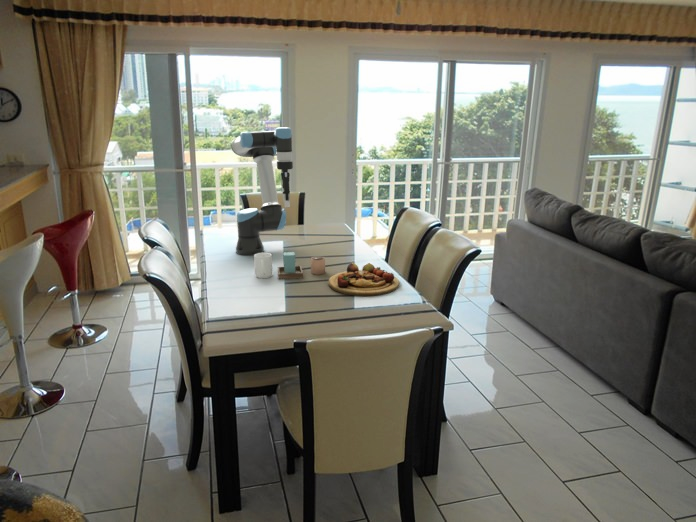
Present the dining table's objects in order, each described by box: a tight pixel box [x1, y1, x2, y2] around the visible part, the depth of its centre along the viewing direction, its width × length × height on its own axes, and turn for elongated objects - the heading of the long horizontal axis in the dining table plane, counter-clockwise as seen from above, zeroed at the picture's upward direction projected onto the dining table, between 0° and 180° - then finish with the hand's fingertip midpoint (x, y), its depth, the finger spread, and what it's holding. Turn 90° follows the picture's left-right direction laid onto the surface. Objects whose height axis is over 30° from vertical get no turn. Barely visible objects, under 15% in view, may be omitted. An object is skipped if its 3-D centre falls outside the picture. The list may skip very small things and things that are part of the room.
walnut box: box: [277, 265, 304, 280], centre depth 251 cm, size 11×11×2 cm
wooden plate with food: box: [327, 262, 400, 297], centre depth 237 cm, size 32×32×8 cm
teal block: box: [283, 251, 296, 274], centre depth 250 cm, size 5×5×10 cm
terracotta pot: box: [310, 255, 326, 275], centre depth 254 cm, size 7×7×7 cm
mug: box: [253, 252, 273, 279], centre depth 248 cm, size 12×8×10 cm
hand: (286, 204), depth 259 cm, fingers open, 13 cm apart
